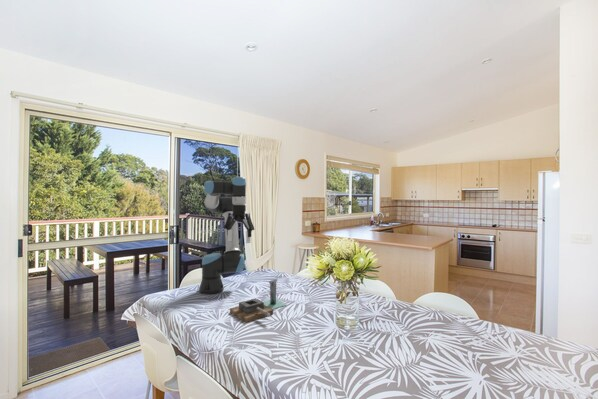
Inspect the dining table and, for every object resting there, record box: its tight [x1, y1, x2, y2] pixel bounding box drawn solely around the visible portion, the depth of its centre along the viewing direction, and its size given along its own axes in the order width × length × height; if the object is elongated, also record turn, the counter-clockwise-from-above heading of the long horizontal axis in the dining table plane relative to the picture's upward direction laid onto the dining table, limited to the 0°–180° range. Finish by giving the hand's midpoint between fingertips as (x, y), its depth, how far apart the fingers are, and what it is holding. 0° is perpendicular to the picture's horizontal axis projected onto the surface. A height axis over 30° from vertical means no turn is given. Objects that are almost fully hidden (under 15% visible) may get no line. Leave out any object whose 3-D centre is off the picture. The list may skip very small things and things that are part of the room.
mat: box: [263, 299, 287, 311], centre depth 166 cm, size 12×10×1 cm
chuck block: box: [229, 297, 274, 323], centre depth 151 cm, size 24×16×6 cm, turn 40°
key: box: [268, 278, 278, 305], centre depth 166 cm, size 6×3×13 cm, turn 150°
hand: (238, 242), depth 168 cm, fingers open, 13 cm apart
